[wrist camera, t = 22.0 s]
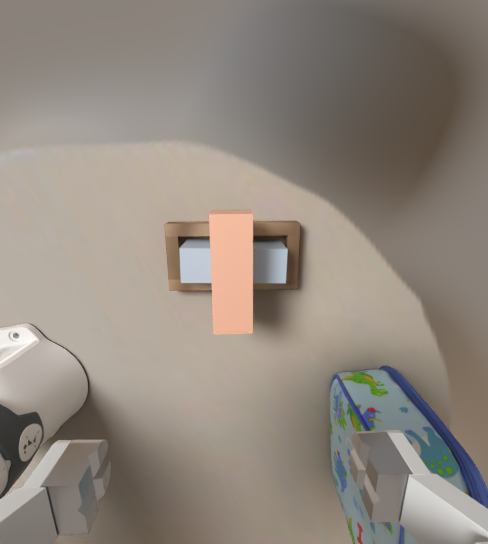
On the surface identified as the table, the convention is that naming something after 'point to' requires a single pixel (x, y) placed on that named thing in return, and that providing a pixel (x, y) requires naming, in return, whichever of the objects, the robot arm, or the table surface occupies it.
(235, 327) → the salmon orange rectangular block
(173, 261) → the jig
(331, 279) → the table surface
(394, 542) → the lunch box
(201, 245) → the pale blue upright slab
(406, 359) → the table surface
